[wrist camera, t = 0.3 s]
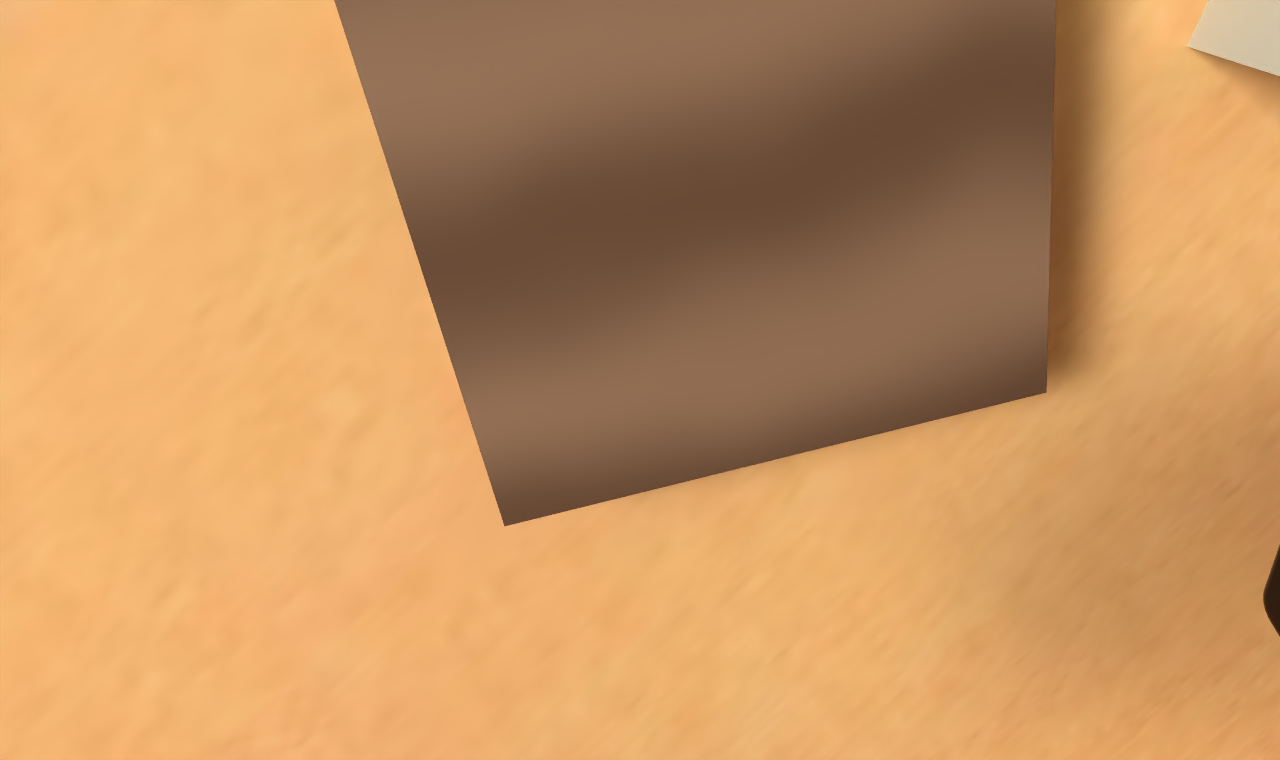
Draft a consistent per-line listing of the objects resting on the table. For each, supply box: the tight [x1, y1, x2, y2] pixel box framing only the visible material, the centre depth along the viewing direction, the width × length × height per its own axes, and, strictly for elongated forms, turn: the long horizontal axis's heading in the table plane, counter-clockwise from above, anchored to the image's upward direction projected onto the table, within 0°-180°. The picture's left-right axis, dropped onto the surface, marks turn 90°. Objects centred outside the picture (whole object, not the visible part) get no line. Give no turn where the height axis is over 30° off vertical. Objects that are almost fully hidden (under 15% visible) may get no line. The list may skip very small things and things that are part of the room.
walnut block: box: [334, 0, 1056, 526], centre depth 20 cm, size 12×12×4 cm
